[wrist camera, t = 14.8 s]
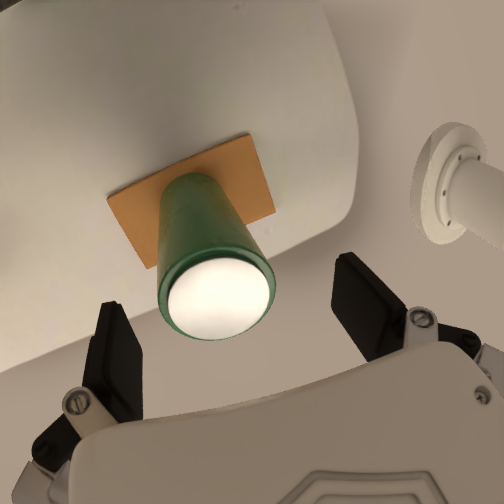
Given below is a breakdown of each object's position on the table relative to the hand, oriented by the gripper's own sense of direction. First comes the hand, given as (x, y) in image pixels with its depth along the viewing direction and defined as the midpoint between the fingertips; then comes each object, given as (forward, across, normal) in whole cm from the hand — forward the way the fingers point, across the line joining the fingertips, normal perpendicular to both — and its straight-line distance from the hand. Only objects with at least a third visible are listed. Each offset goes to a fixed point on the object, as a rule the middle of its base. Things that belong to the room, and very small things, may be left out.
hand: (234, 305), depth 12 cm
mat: (+13, +1, 0) cm, 13 cm away
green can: (+12, +1, 0) cm, 12 cm away
